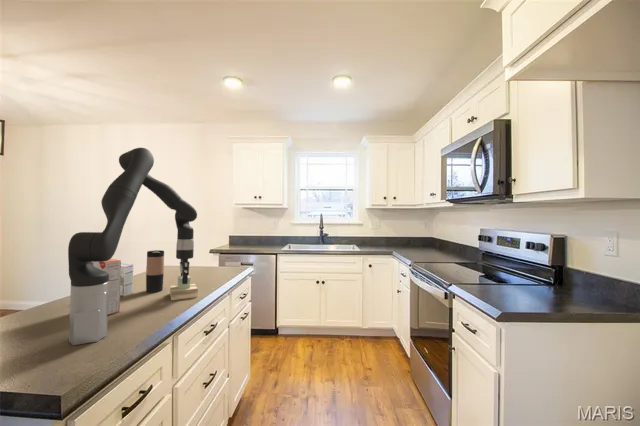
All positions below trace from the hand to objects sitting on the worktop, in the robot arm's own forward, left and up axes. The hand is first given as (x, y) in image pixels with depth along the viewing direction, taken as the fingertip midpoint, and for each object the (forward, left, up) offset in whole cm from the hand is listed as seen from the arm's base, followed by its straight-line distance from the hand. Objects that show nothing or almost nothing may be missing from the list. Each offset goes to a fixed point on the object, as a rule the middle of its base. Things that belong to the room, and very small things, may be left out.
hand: (184, 281), depth 133 cm
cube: (0, 0, -3) cm, 3 cm away
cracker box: (-9, +30, -7) cm, 32 cm away
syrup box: (+14, +25, -7) cm, 29 cm away
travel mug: (+15, +12, -7) cm, 20 cm away
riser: (0, 0, -7) cm, 7 cm away
